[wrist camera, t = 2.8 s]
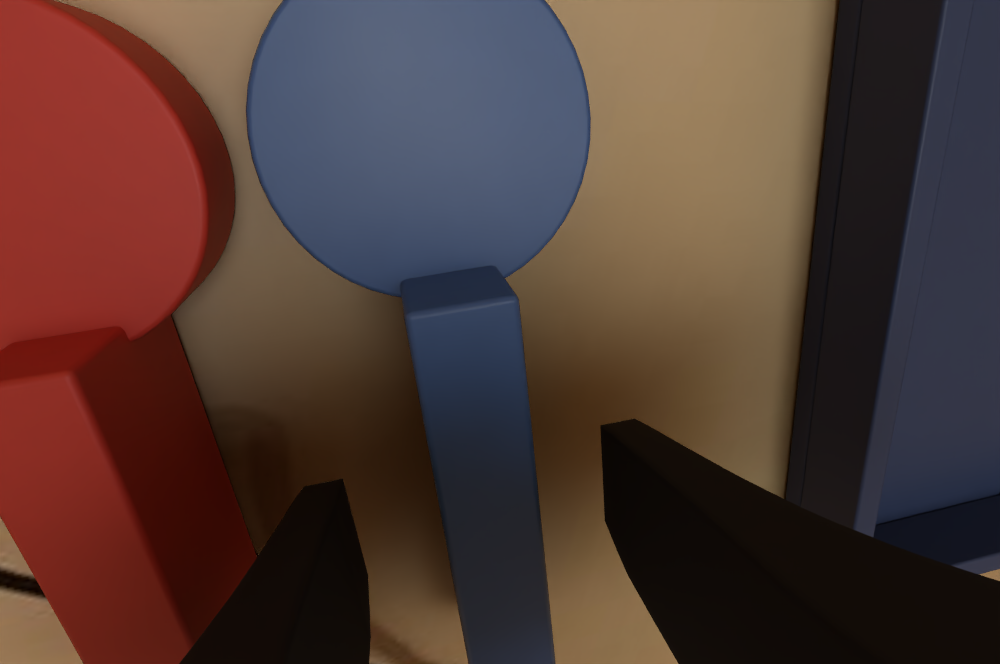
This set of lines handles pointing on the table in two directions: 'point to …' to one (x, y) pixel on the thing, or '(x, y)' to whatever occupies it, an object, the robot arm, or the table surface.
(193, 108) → the red spoon
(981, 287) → the blue tray
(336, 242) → the blue spoon
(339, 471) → the table surface
